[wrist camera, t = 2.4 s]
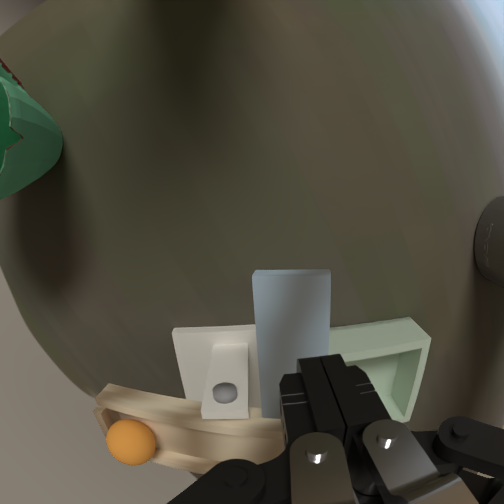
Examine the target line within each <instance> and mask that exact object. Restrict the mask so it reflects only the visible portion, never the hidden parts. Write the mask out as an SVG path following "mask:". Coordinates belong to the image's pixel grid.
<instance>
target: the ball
mask: <svg viewBox="0 0 504 504" xmlns="http://www.w3.org/2000/svg"><path fill="white" fill-rule="evenodd" d="M106 441H107V446H108V449H109V451H110V453H111V454H112V455H113V456H114V457H115V458H116V459H117V460H118V461H120V462H122V463H124V464H128V465H141V464H143V463H145V462H147V461H148V460H150V458H151V457H152V456H153V454H154V452H155V447H156V443H155V438H154V435H153V433H152V432H151V430H150V429H149V428H148V427H147V426H146V425H145V424H143V423H141V422H140V421H137V420H133V419H122V420H119V421H117V422H115V423H114V424H113V425H112V426H111V427H110V428H109V430H108V432H107V437H106Z"/></svg>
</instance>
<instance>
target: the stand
mask: <svg viewBox="0 0 504 504" xmlns="http://www.w3.org/2000/svg"><path fill="white" fill-rule="evenodd" d="M172 337H173V342H174V347H175V351H176V356H177V361H178V365H179V370H180V374H181V378H182V383H183V387H184V391H185V395H186V399H187V400H194V401H201V402H202V406H201V414H202V419H247V418H249V407H255V408H261V394H260V380H259V367H258V353H257V339H256V325H255V324H253V325H236V326H216V327H188V328H174V329H173V332H172Z"/></svg>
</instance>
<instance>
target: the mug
mask: <svg viewBox="0 0 504 504" xmlns="http://www.w3.org/2000/svg"><path fill="white" fill-rule="evenodd" d="M62 147H63V137H62V133H61V130H60V129H59V127H58V125H57V124H56V123H55V121H54V120H53V119H52V117H51V116H50V115H49V114H48V113H47V112H46V111H45V110H44V109H43V108H42V107H41V106H40V105H39V104H38V103H37V102H36V101H34V100H33V99H32V98H31V97H29V96H28V94H27V92H26V91H25V89H24V87H23V85H22V83H21V82H20V81H19V80H18V79H17V78H16V77H15V75H14V74H13V73H12V72H11V71H10V70H9V68H8V67H7V66H6V65H5V64H4V63H3V61H2V60H1V59H0V200H1V199H3V198H5V197H7V196H9V195H11V194H14V193H16V192H18V191H19V190H21V189H22V188H24V187H26V186H27V185H29V184H30V183H32V182H33V181H35V180H37V179H38V178H40V177H41V176H42V175H43V174H45V173H46V172H47V171H48V170H50V169H51V168H52V167H53V166H54V165H55V164H56V163H57V161H58V159H59V157H60V155H61V151H62Z"/></svg>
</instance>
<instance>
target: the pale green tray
mask: <svg viewBox="0 0 504 504" xmlns="http://www.w3.org/2000/svg"><path fill="white" fill-rule="evenodd" d="M430 342H431V337H430V336H429V335H427V334H426V333H425V332H424V331H423V330H422V329H421V328H420V327H419V326H418V325H417V324H416V323H415V322H414V321H413V320H412V319H411V318H410V317H404V318H398V319H392V320H385V321H378V322H371V323H364V324H357V325H349V326H341V327H332V328H330V330H329V351H328V355H332V354H341V356H342V358H343V360H344V362H345V364H346V366H352V365H356V366H358V367H359V368H360V369H362V370H363V371H365V372H366V374H367V376H368V377H369V379H370V381H371V384H373V386H374V388H375V391H377V393H378V395H379V397H380V399H381V400H382V402H383V404H384V406H385V408H386V409H387V411H388V413H389V415H390V417H391V418H392V420H396V421H399V422H401V423H403V422H407V421H409V420H410V417H411V414H412V411H413V408H414V405H415V401H416V398H417V395H418V391H419V387H420V384H421V380H422V376H423V372H424V368H425V364H426V360H427V356H428V351H429V347H430Z"/></svg>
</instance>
